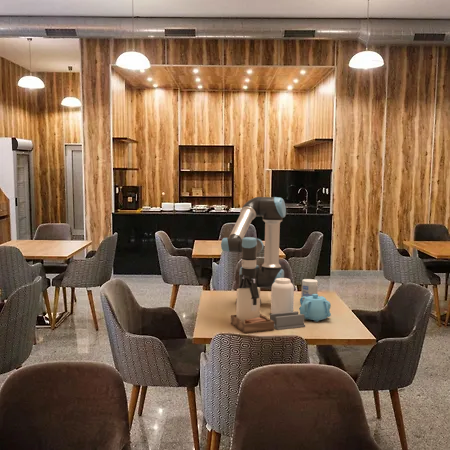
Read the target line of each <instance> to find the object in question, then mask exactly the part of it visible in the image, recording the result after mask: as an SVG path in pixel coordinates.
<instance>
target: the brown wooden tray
mask: <svg viewBox="0 0 450 450" xmlns="http://www.w3.org/2000/svg"><path fill="white" fill-rule="evenodd" d="M260 318H262V319H265V320H266V322H259V323H249V324H246V323H244V322H242V321H241V320H239V319H238V318H236V314H231V315H230V324H231V325H232V326H233V327H234V328H236V329H237V330H239V331H241V332H242V333H244V334H254V333H260V332H261V333H262V332H271V331H272V332H273V331H275V328H274V321H272V320H271V319H270V317H267V316H265V315H263V314H262V313H260Z"/></svg>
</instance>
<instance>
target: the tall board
mask: <svg viewBox="0 0 450 450" xmlns="http://www.w3.org/2000/svg"><path fill="white" fill-rule="evenodd" d="M257 288H258V293H259V298H257V311H251V298H252V296H251V292H250V289H249V288H239V287H238V288H236V298H237V304H236V314H235V315H236V318H238V319H239V320H241V321H242V322H245V320H247V319H253V318H258V317H260V314H261V304H260V298H261V287H257Z"/></svg>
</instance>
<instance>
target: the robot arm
mask: <svg viewBox="0 0 450 450" xmlns="http://www.w3.org/2000/svg"><path fill="white" fill-rule="evenodd" d="M286 206H287V205H286V203H285V200H284V199H283V198H282V197H277V196H272V197H271V196H256V197H253V198H251V199H249V200H247V201H246V202H245V203H244V204H243V205H242V206H241V208H240V212H239V216H238V218H237V220H236V222H235V225H234V226H233V228H232V230H231V232H230V234H229V236H228V237H223V238H222V239H221V243H220V248H221V250H222V252H227V253H239V254H240V253H241V261H240V262H241V266H240V268H239V274H238V275H239V277H238V289H239V288H249V289H250V292H251V296H252V298H251V311H257V298H259V293H258V288H257V287H259V288H260V289H262V288H263V289H264V288H265V289H271V287H272V284H273V283H274V282H275V279H277V278H285V270H284V269H282V265H281V264H280V236H281V235H280V234H281V233H280V229H281V227H280V226H281V222H283V218H285V217H286V215H287V210H286V209H287V207H286ZM256 217H262V221H263V222H264V223H265V224H264V242H263V241H262V239H260V238H256V237H251V236H246V237H245V235H246V234H247V231H248V229H249V227H250V225H251V223H252V221H253V220H254V219H256ZM263 249H264V254H263V255H264V261H263V263H262V264H261V267H260V265H258V264H257V254H259V253H261V252H262V251H263ZM235 303H236V305H237V297H236V299H235ZM261 304H262V299H261V297H260V305H261Z"/></svg>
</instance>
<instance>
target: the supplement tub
mask: <svg viewBox="0 0 450 450" xmlns="http://www.w3.org/2000/svg"><path fill="white" fill-rule="evenodd" d="M318 284H319V281H318V280H317V279H312V278H304V279H302V281H301V294H300V298H301V297H304V296H305V297H308V296H312V294H318V289H319V288H318V287H319V286H318ZM304 299H305V298H303V299H302V302H303V301H304Z"/></svg>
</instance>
